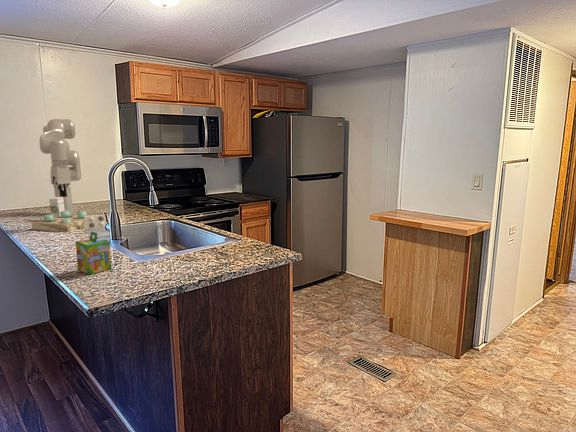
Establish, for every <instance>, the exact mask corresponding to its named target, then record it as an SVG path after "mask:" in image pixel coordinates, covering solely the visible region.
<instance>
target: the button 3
mask: <svg viewBox="0 0 576 432" xmlns="http://www.w3.org/2000/svg"><path fill="white" fill-rule="evenodd" d="M61 221H62V223H71V219H64V220H61Z"/></svg>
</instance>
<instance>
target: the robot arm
mask: <svg viewBox="0 0 576 432" xmlns="http://www.w3.org/2000/svg"><path fill="white" fill-rule="evenodd" d="M75 125H76V124H75V123H74V121H73V120H72V119H67V118H66V119H61V118H60V119H59V118H53V119H50V120H48V122H47V125H44V126H43V128H42V132H43V133H42V134H41V135H40V136H39V150H40V152H42V153H43V154H45V155H49V154H50V159H51V166H50V183H51V185H53V190H54V197H63V200H64V209H65V211H69V212H70V215H77V212H76V210H78V209H79V207H78V206H73V199H72V198H73V197H72V190H71V182H78V181H80V180H81V179H82V170H81V169H82V168H81V161H80V156H79V152H77V151H76V150H71V149H70V147H71V146H70V143H69V142H68V140H71V139H74V138H75V136H76V126H75Z"/></svg>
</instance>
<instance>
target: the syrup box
mask: <svg viewBox="0 0 576 432" xmlns="http://www.w3.org/2000/svg"><path fill="white" fill-rule="evenodd" d="M48 199H49V208H50V214H53V217H59V216H61V214H60V212H61V211H65V209H64V200H63V197H55V196H52V197H49V198H48Z"/></svg>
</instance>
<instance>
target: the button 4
mask: <svg viewBox="0 0 576 432" xmlns="http://www.w3.org/2000/svg"><path fill="white" fill-rule="evenodd" d="M76 216H78V219H84V216H88V215H87V211H85V210H83V211H77V212H76Z"/></svg>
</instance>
